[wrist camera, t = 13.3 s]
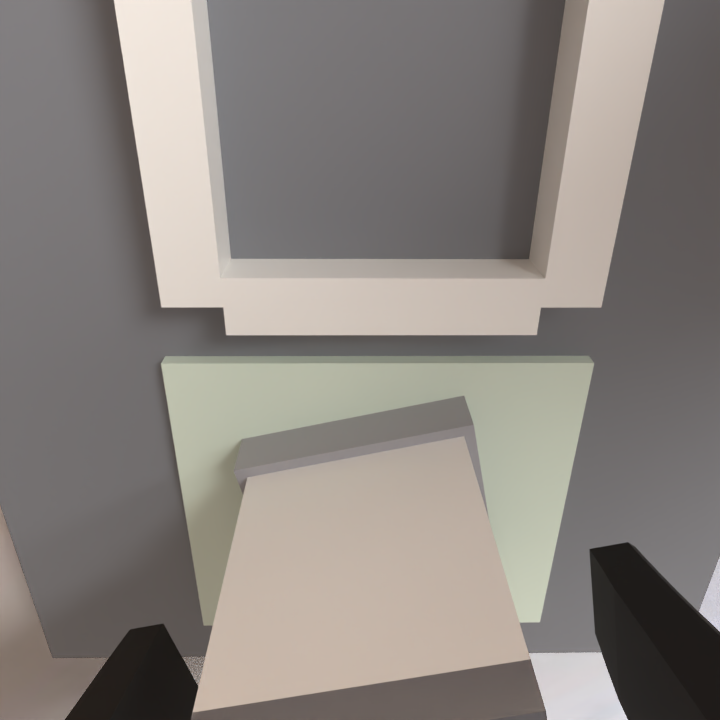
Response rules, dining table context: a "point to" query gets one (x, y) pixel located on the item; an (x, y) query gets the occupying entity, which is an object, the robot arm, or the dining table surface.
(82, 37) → the fixture base plate
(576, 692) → the dining table surface
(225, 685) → the plug
